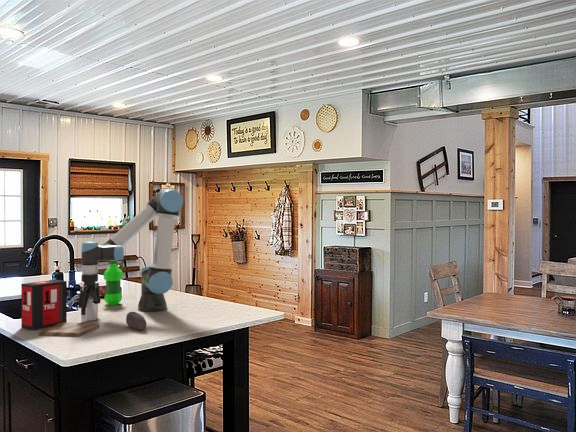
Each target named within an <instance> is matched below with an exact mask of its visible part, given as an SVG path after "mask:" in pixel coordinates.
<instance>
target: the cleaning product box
mask: <svg viewBox="0 0 576 432" xmlns="http://www.w3.org/2000/svg"><path fill="white" fill-rule="evenodd" d="M67 283H68V282H67V280H60V279H51V280H42V281H33V282H26V283H21V285H20V286H21V294H20V295H21V296H20V297H21V303H20V304H21V307H20V309H21V314H20V315H21V318H20V319H21V321H20V322H21V323H20V324H21V329H24V330H29V331H37V330H44V329H47V328H49V327H52V326H54V325H57V324H60V323H62V322H65V323H68V322H67V318H68V317H67V313H68V312H67V311H68V309H67V307H68V306H67V305H68V304H67V303H68V302H67V301H68V300H67V297H68V296H67V295H68V294H67V293H68V292H67V287H68V286H67Z"/></svg>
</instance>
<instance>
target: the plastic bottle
mask: <svg viewBox="0 0 576 432" xmlns="http://www.w3.org/2000/svg"><path fill="white" fill-rule="evenodd" d="M108 262H109V265H110V266H109V267H108V268H107V269H106V270H105V271H104V273H103V279H104V280H105V294H104V302H105V303H106V304H107V305H109V306H115V305H116V306H117V305H119V303H121V302H122V299H123V295H122V291H121V280H122V279H123V276H124V275H123V274H124V272H123V271H122V269H120V268H119V267H118V265H117V264H118V260H117V261H116V260H111V261H108Z"/></svg>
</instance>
